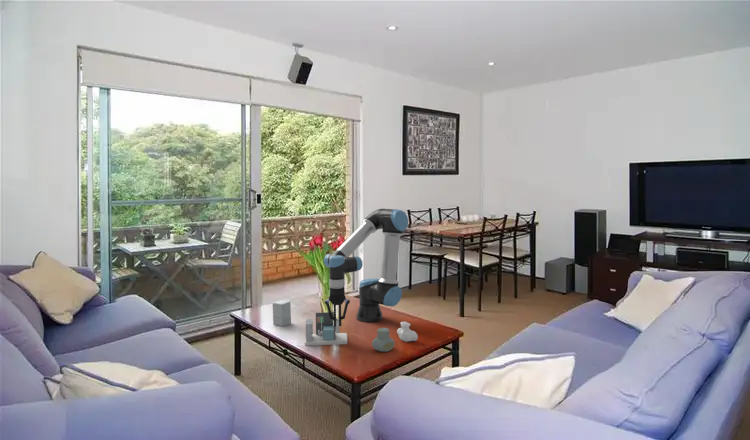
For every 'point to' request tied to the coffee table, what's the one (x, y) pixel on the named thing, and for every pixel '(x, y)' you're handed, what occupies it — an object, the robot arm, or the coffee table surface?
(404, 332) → the duck figurine
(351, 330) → the coffee table surface
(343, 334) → the gauge stand
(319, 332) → the block
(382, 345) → the air freshener
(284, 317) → the supplement box
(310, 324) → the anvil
